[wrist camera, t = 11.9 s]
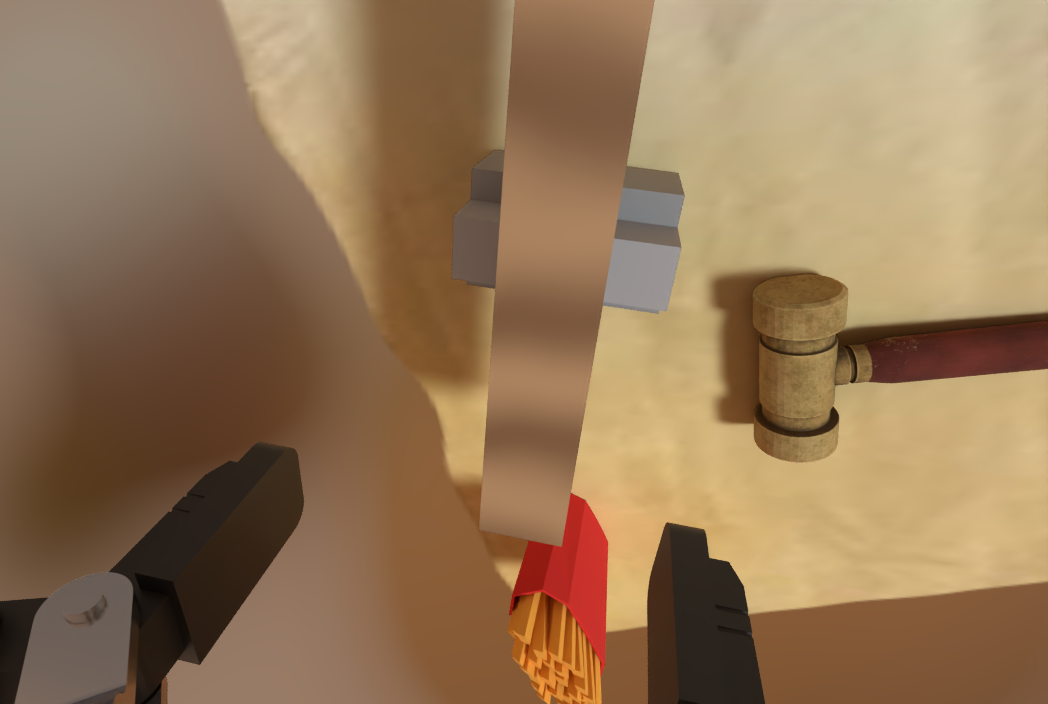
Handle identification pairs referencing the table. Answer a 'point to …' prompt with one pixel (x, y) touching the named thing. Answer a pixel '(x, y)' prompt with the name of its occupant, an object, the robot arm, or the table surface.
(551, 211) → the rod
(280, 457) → the robot arm
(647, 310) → the steps
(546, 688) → the french fries
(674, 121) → the table surface
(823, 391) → the gavel
